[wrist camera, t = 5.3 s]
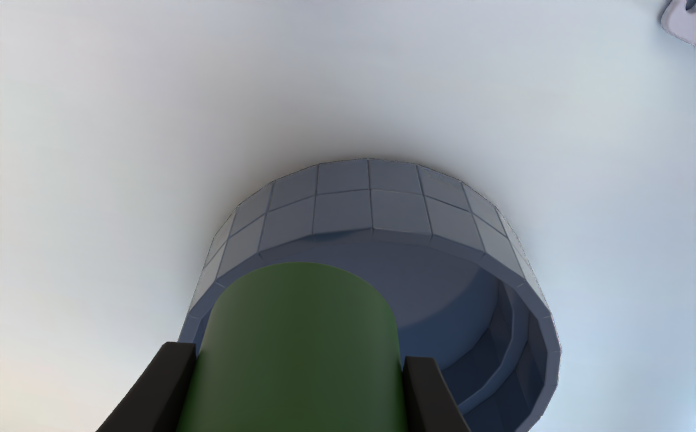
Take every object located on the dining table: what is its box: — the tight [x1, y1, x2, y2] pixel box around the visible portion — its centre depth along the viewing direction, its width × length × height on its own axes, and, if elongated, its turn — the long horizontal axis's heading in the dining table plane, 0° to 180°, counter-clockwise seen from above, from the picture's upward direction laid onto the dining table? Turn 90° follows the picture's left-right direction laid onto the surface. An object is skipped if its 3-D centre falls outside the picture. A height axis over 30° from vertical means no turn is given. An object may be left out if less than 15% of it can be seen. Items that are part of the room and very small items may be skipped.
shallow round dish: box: [178, 158, 562, 432], centre depth 22 cm, size 14×14×5 cm
